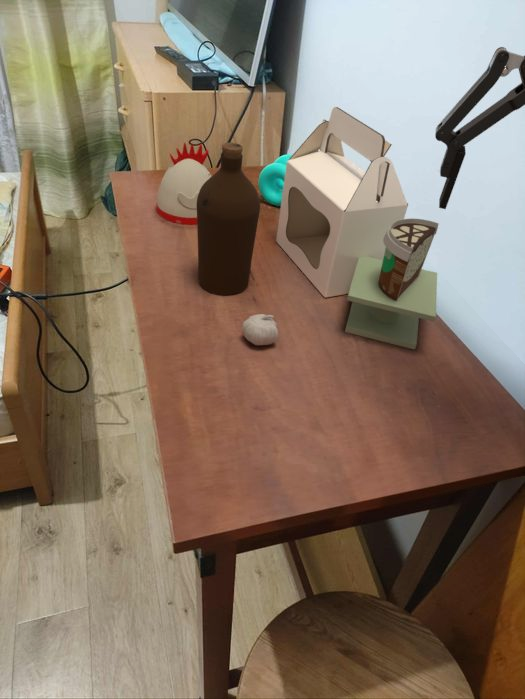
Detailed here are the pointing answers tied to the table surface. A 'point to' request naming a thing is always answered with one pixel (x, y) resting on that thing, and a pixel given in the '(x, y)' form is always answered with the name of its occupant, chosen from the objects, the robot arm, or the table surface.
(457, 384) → the table surface
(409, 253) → the food container
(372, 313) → the stand
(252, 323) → the garlic
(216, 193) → the olive oil
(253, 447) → the table surface
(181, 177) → the kitchen timer
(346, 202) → the gable box
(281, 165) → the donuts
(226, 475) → the table surface
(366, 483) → the table surface
